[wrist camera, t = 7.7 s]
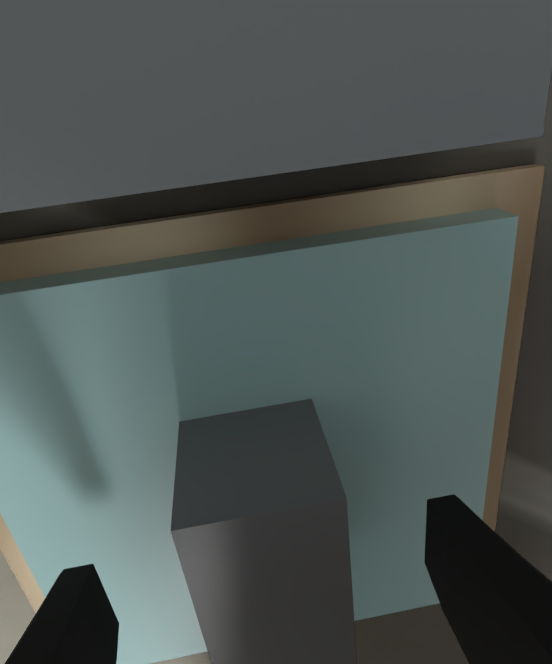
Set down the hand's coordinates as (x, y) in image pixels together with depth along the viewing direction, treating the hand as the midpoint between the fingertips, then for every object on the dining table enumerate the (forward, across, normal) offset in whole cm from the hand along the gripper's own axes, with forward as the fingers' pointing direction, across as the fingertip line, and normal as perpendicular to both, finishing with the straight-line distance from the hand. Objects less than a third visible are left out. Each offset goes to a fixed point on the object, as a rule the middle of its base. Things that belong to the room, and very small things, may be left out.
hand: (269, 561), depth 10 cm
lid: (+3, 0, 0) cm, 3 cm away
